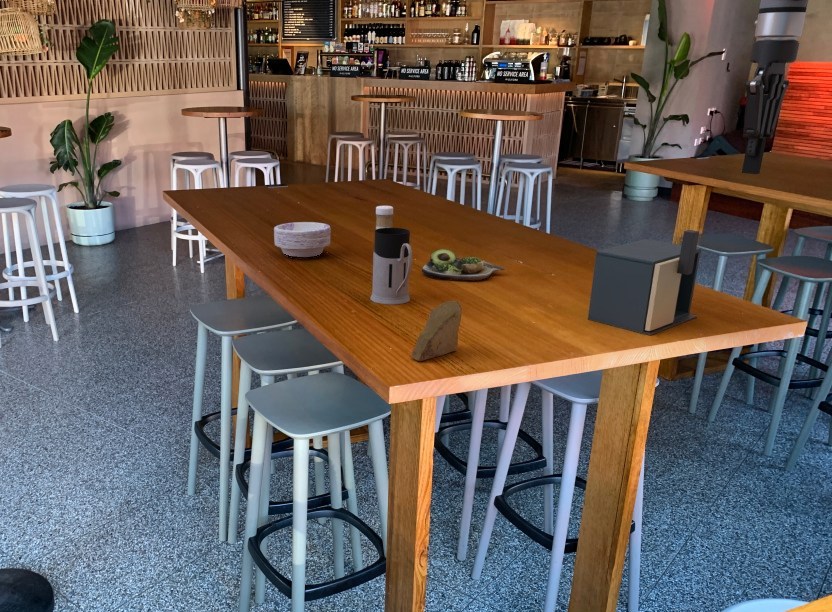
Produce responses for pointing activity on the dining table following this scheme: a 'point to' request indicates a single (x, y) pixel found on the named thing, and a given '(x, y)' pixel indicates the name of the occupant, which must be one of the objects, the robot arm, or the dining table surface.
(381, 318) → the dining table surface
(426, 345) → the rock
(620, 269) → the cabinet
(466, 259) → the salad plate
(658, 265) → the sliding door
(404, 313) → the dining table surface
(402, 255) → the glass holder
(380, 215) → the sprinkles bottle
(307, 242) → the paper bowls
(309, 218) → the dining table surface
